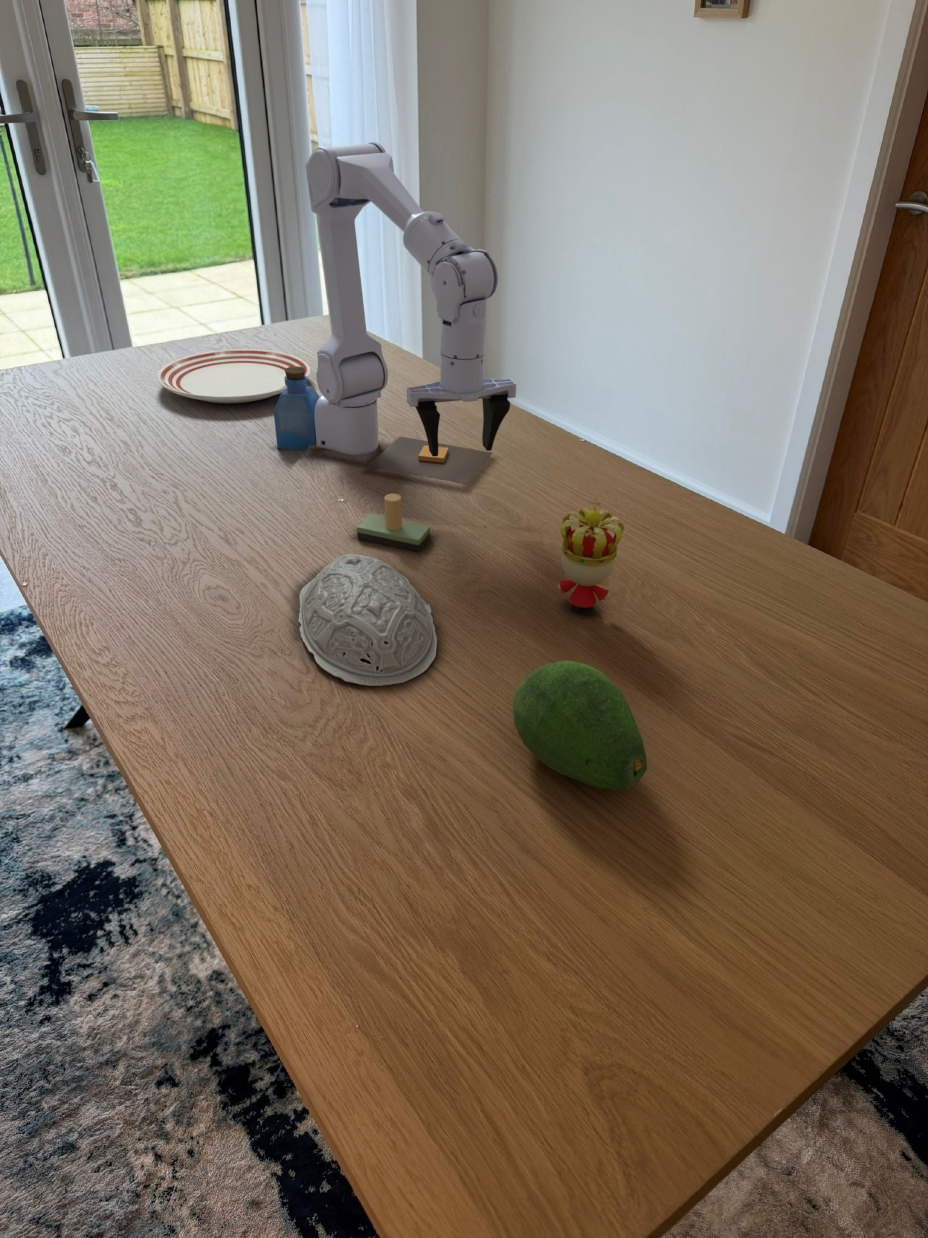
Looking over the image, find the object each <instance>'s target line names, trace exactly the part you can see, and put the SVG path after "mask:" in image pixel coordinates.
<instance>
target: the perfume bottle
mask: <svg viewBox="0 0 928 1238" xmlns="http://www.w3.org/2000/svg"><path fill="white" fill-rule="evenodd" d="M285 373H286V376H285V378H284V379H285V385H287V387H286V388H285V389H284V391H283V392H282V393H280V394H279V398H278V399H277V400H278V401H277V402H276V405H275V407H274V409H273V419H274V428H275V437H276V447H277V449H283V450H299V451H307V450H308V449H309V448H310V446H312V445H315V444H316V431H315V417H314V415H315V407H316V403H317V401H318V399H319V397H320V395H319V394H318V393H317V391H316V390H315V389H314V387H313V386H309V385H308V386H307V384H308V377H306V375H304V374H305V368H303V367H298V366H293V367H288V368H286V369H285Z"/></svg>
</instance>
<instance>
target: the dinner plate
mask: <svg viewBox="0 0 928 1238" xmlns="http://www.w3.org/2000/svg"><path fill="white" fill-rule="evenodd" d="M293 366H298V367H303V368H305V374H304V375H306V377H307V378H308V377H309V375H310V374H311V367H310V365H309V364H308V362H306V361H305V360H304V359H302V358H300V357H298V356H296V355H293V354H291V353H286V352H282V351H276V350H269V349H255V348H232V349H231V348H230V349H220V350H219V349H218V350H211V351H203V352H198V353H194V354H190V355H186V356H183V357H180V358H176V359H175V360H172V361H170V362H168V363H166V364H164V366H162V367H161V368H160V369H159V370H158V372H157V374H156V380H157V382H158V384H159V385H160V386H161V387H163V388H164V389H166V390H168V391H170V392H171V393H174V394H176V395H179V396H182V397H186V398H188V399H192V400H193V399H194V400H197V401H203V402H208V403H213V404H244V403H252V402H257V401H260V400H265V399H268V398H270V397H274V396H276V395H281V393H282V392H283V391H284V389H285V388H286V387H287V385H285V379H284V378H285V376H286V373H285V369H286V368H288V367H293Z"/></svg>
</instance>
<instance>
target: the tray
mask: <svg viewBox="0 0 928 1238" xmlns="http://www.w3.org/2000/svg"><path fill="white" fill-rule="evenodd" d="M424 445H425V446H429V445H428V440H424V439H417V438H413V437H406V436H401V435H400V436H399V437H397V438H396V439H395V440H394V441H393V442H392V443H391V444H390V445H389V446H388V447H386V449H384V450H383V451H382V452H381V453H380V454H379V455H378V456H376V457H375V458H374V459H373V460H372V461H371V462H370V463H369V464H368V467H373V468H378V469H384V470H388V471H389V470H390V471H394V472H399V473H405V474H410V475H415V476H420V477H426V478H431V479H437V480H442V481H447V482H452V483H458V484H463V485H467V483H469V481H470V480H471V479H472V478H473V477H474V476H475V474H476V473H477V472H478V471H479V470H480V468H481V467H482V466H483V465H484V464H485V463H486V461H487V460H488V459H489V458H490V457H491V456H492V454H493V452H491V451H484V450H478V449H473V448H467V447H462V446H456V445H452V444H445V443H439V442H438V447H445V448H449V453H448V455H447V457H446V459H445V461H444V463H440V462H431V461H421V460H418V456H419V454H420V452H421V450H422V448H423V447H424Z"/></svg>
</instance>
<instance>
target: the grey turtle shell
mask: <svg viewBox="0 0 928 1238" xmlns="http://www.w3.org/2000/svg"><path fill="white" fill-rule="evenodd" d="M298 598H299V613H298V623H299V624H300V627H299V631H300V637H301V639H302V641H303V643H304V645H305V647H306V648H307V650H308V652H309V653H311V654H313V657H314V660H315V662H316V663H317V665H318V666H319V667H320V668H322V670H324V671H326V672H327V673H329V674H330V675H332V676H334V677H336V678H340V679H341V680H343V682H346V683H352V684H358V685H360V686H368V687H382V686H392V685H399V684H404V683H406V682H408V681H410V680H412V679H414V678H416V677H418V676H420V675H421V674H423V673H424V672H426V671H427V670H428V669H429V667H430V666H431V664H432V663H433V661H435V658H436V656H437V647H438V638H437V633H436V627H435V625H434V618H433V616H432V612H433V611H432V608H431V606H430V603H428V602H427V601H426V602H425V600H424V599H422V597H421V595H420V593H418V591H417V590H416V588H414V586H413V585H411V584H410V581H409V579H408V578H407V577H406V576H404V575H403V574H401V573H400V572H399V571H397V569H395V568H394V567H393V565H391V564H389V563H387V562H386V561H383V560H381V559H379V558H375V557H371V556H370V555H365V554H356V553H353V554H352V553H346V554H343V555H340V556H336V558H335V559H333V560H332V561H331V562H329V564H327V565H325V566H324V567H323V568H322V569H321V570H320V572H319V573H316V576H315V577H314V578H312V579H311V580H310V581H309V582H307V584H306V585H305V586H303V587H302V589H301V590H300V592H299V596H298ZM344 653H345V654H344ZM361 659H364V660H366V661H369V662H370V663H367V662H366V661H364V662H363V661H362V660H361ZM377 667H378V669H377Z"/></svg>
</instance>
